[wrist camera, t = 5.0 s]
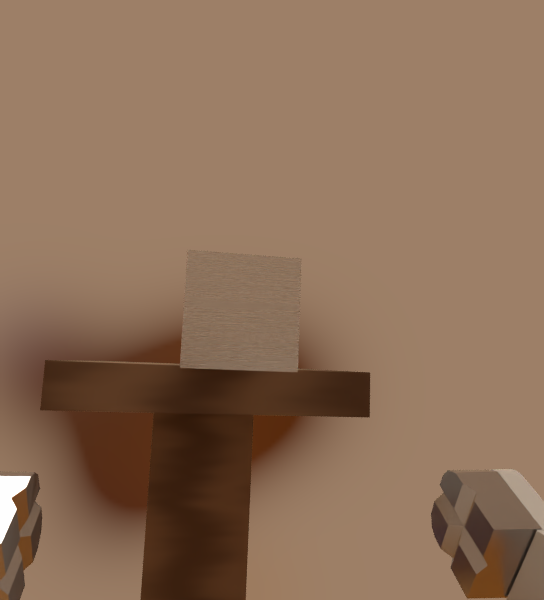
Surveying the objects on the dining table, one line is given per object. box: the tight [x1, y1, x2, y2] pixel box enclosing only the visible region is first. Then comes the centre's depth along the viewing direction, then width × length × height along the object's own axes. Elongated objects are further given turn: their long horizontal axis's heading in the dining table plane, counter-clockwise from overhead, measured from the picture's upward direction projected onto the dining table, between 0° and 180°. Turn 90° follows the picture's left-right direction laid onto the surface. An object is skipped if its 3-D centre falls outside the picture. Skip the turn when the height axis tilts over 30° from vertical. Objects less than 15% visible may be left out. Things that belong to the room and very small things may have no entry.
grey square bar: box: [180, 250, 301, 372], centre depth 23 cm, size 3×22×3 cm, turn 10°
